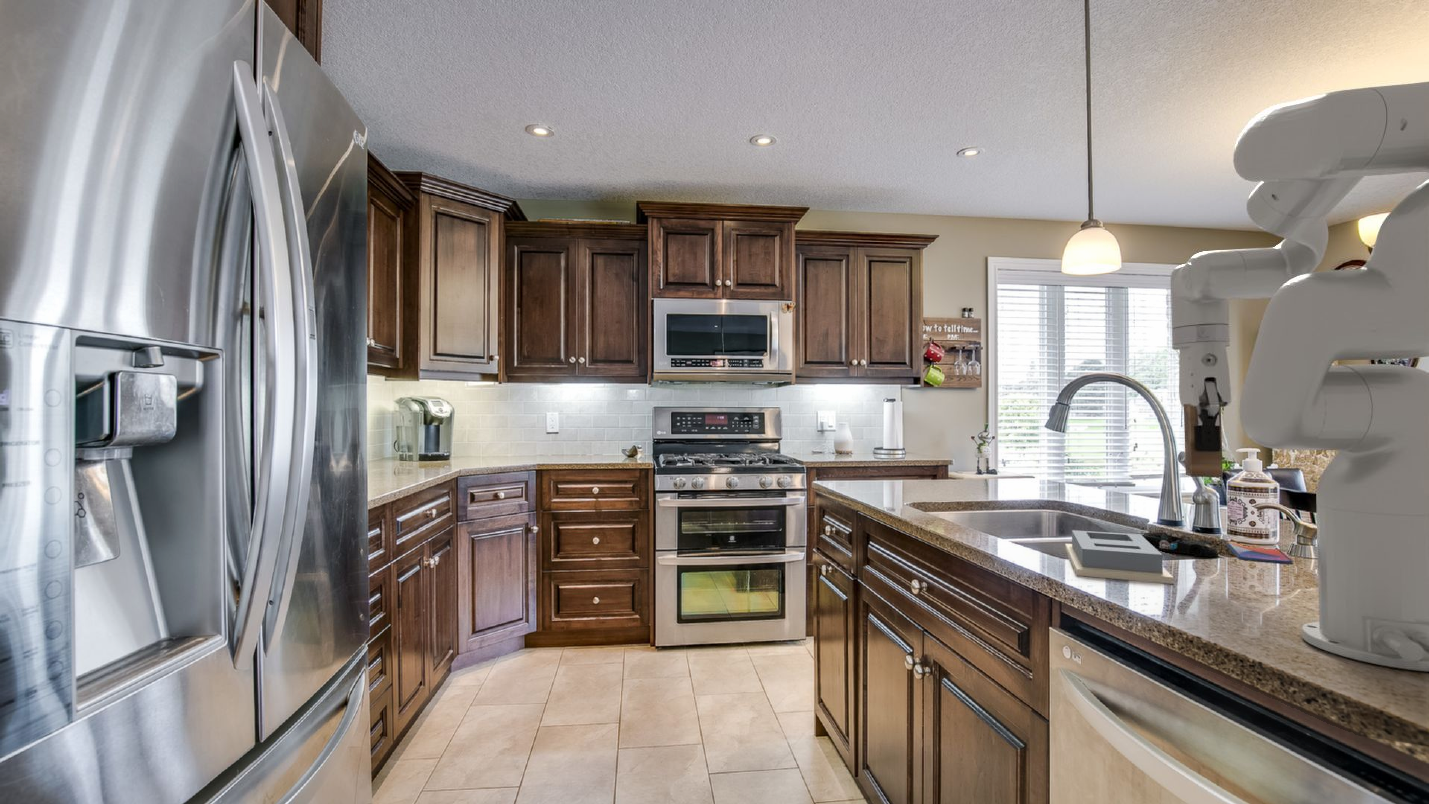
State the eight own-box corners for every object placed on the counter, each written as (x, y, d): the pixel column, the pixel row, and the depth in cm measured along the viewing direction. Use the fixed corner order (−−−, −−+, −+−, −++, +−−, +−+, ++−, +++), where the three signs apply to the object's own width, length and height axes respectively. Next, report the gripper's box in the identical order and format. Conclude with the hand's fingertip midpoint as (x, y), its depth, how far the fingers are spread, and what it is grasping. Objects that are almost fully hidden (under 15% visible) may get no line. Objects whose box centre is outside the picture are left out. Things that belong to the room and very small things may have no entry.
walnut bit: (1222, 477, 101) (1220, 401, 101) (1192, 476, 102) (1189, 402, 103) (1215, 475, 104) (1213, 402, 105) (1185, 474, 106) (1183, 402, 106)
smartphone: (1239, 562, 113) (1239, 556, 113) (1224, 545, 126) (1224, 540, 126) (1294, 567, 110) (1294, 561, 110) (1273, 549, 122) (1273, 544, 122)
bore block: (1173, 583, 98) (1173, 557, 98) (1076, 575, 103) (1076, 550, 103) (1145, 554, 118) (1144, 532, 118) (1065, 548, 123) (1065, 528, 123)
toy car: (1222, 560, 114) (1221, 537, 114) (1142, 554, 119) (1141, 531, 120) (1212, 551, 121) (1211, 529, 121) (1137, 545, 127) (1136, 524, 127)
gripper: (1246, 330, 95) (1250, 453, 94) (1213, 343, 110) (1216, 448, 109) (1185, 334, 98) (1188, 452, 97) (1161, 345, 113) (1164, 448, 113)
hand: (1203, 449), depth 103 cm, fingers closed on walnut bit, 4 cm apart
